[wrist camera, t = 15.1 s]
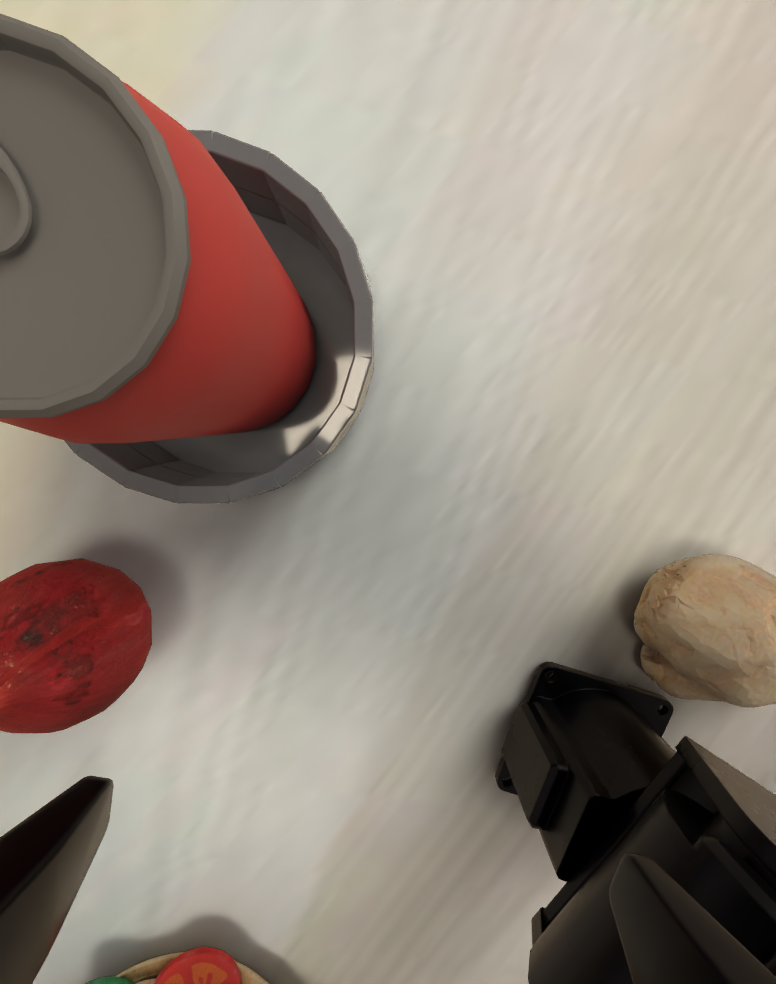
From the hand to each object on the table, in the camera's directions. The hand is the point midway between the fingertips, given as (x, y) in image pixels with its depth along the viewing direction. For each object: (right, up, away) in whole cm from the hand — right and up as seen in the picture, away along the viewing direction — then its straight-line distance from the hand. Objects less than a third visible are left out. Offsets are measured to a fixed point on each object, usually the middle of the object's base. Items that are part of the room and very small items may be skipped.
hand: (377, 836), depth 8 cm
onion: (-12, +1, +13) cm, 17 cm away
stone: (+14, 0, +14) cm, 20 cm away
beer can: (-6, +12, +11) cm, 17 cm away
